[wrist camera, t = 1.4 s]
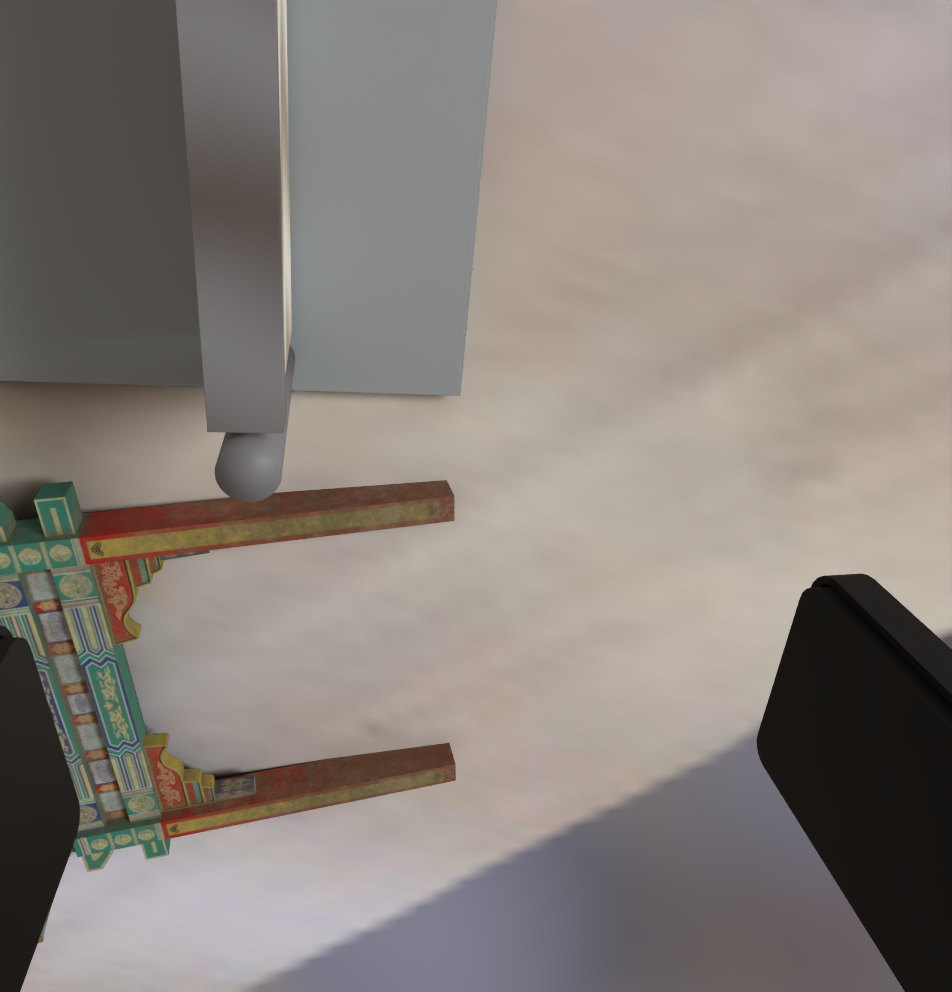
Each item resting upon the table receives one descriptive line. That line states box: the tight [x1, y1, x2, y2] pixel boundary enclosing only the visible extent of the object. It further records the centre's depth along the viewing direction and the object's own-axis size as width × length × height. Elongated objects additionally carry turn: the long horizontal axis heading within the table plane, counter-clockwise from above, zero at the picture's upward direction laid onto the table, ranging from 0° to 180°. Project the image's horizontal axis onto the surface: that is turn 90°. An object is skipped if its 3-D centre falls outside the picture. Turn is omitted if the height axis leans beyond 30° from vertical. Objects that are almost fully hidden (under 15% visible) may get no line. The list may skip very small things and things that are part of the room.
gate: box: [176, 0, 292, 434], centre depth 21 cm, size 15×2×11 cm, turn 174°
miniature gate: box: [0, 480, 456, 943], centre depth 36 cm, size 27×6×30 cm
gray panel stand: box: [0, 0, 497, 502], centre depth 21 cm, size 22×20×12 cm
